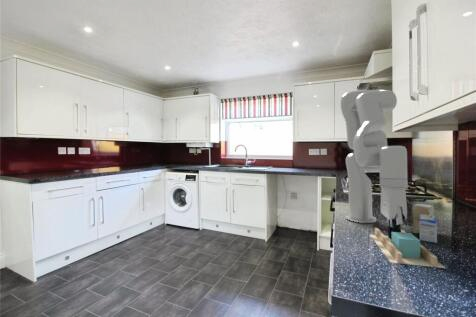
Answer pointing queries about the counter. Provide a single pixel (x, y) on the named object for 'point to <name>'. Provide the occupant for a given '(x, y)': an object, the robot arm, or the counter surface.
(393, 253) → the channel
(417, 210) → the box
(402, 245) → the block
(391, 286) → the counter surface
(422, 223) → the medicine box
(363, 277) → the counter surface
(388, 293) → the counter surface
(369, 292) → the counter surface
